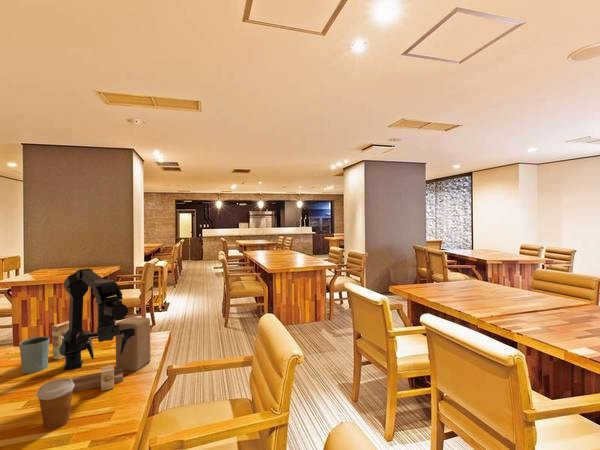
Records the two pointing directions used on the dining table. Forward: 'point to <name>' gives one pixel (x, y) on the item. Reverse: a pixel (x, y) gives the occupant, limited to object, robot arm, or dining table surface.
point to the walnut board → (94, 380)
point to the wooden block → (134, 345)
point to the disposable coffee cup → (55, 402)
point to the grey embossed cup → (34, 354)
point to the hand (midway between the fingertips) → (107, 356)
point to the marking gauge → (107, 377)
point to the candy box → (58, 338)
